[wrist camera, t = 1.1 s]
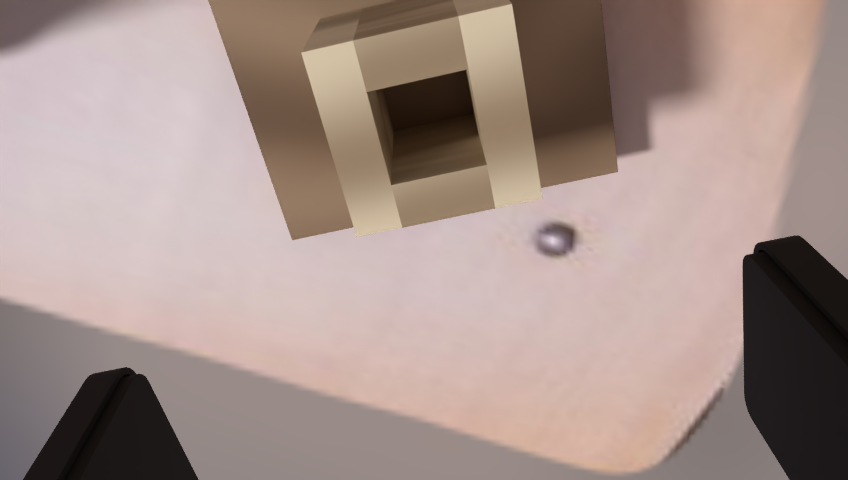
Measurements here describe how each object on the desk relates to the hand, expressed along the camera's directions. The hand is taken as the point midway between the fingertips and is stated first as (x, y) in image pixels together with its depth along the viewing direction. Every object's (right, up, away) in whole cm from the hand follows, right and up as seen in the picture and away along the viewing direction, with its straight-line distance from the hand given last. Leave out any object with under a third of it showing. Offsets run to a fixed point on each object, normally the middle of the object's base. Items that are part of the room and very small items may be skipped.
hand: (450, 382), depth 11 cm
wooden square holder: (0, +8, +14) cm, 17 cm away
